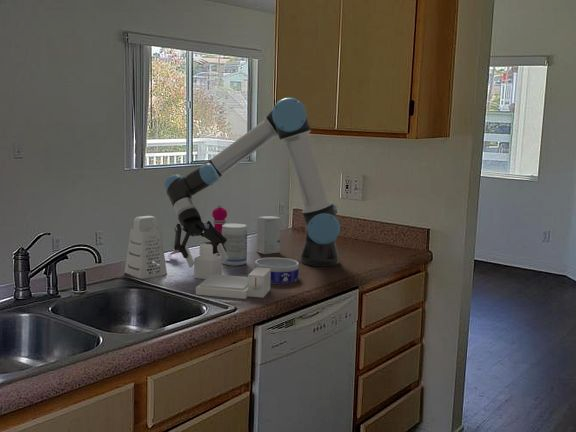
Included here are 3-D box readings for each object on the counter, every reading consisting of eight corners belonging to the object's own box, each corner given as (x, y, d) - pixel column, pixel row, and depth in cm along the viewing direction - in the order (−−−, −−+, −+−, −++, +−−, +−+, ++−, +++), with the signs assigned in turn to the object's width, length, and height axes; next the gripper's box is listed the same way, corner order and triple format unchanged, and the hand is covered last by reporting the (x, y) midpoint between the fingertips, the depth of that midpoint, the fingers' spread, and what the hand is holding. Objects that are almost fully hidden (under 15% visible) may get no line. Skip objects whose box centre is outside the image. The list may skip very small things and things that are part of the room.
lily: (181, 257, 257) (168, 237, 255) (203, 250, 251) (190, 229, 249) (165, 272, 247) (152, 251, 245) (187, 265, 241) (174, 243, 239)
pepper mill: (229, 251, 268) (230, 203, 265) (225, 254, 261) (226, 205, 258) (212, 249, 269) (213, 202, 266) (207, 253, 262) (208, 204, 259)
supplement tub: (251, 264, 245) (252, 226, 243) (228, 267, 240) (229, 228, 237) (238, 259, 253) (239, 222, 251) (216, 261, 248) (217, 224, 245)
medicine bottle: (204, 273, 229) (204, 240, 227) (222, 276, 226) (222, 242, 225) (193, 278, 223) (194, 243, 221) (211, 280, 220) (212, 246, 218)
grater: (167, 274, 227) (167, 217, 223) (141, 278, 219) (141, 220, 216) (150, 268, 234) (150, 213, 231) (124, 272, 226) (124, 216, 223)
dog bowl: (285, 272, 237) (286, 255, 236) (306, 282, 223) (306, 265, 222) (247, 275, 230) (248, 258, 229) (266, 286, 216) (266, 268, 215)
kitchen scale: (272, 287, 214) (272, 266, 213) (261, 300, 199) (261, 278, 198) (211, 282, 218) (211, 261, 217) (195, 294, 203) (196, 272, 202)
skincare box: (263, 254, 263) (264, 218, 261) (255, 251, 268) (256, 216, 266) (280, 252, 268) (281, 217, 266) (272, 249, 273) (273, 215, 271)
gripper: (212, 217, 242) (234, 264, 233) (152, 222, 226) (173, 273, 217) (221, 204, 237) (243, 252, 228) (159, 209, 221) (181, 260, 212)
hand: (209, 262), depth 223 cm, fingers open, 13 cm apart
